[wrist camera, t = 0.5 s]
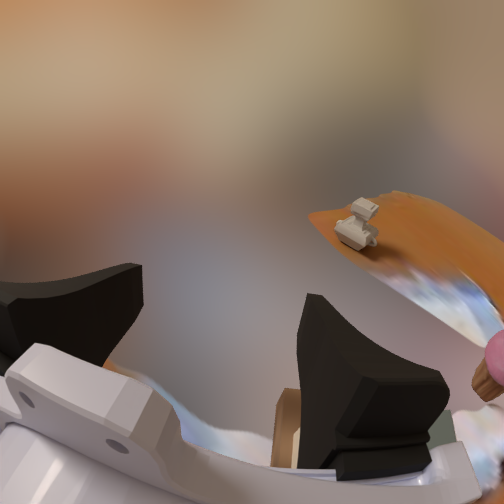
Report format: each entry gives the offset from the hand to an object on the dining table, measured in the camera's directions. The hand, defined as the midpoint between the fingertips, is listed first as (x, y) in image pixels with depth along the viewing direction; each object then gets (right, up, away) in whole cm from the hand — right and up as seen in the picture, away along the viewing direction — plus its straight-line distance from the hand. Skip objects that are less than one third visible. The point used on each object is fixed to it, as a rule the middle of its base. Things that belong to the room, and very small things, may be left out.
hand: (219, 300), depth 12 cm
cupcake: (+34, -17, +15) cm, 40 cm away
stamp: (+20, +4, +40) cm, 45 cm away
